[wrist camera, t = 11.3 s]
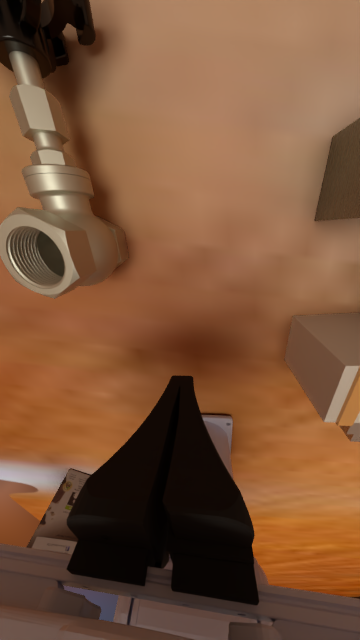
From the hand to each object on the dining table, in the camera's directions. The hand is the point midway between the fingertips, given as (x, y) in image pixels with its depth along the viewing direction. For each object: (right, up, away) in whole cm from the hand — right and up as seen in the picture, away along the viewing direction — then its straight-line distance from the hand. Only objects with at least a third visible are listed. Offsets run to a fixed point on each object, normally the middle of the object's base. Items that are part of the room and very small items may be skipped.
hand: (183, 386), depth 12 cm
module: (+12, +3, +3) cm, 13 cm away
